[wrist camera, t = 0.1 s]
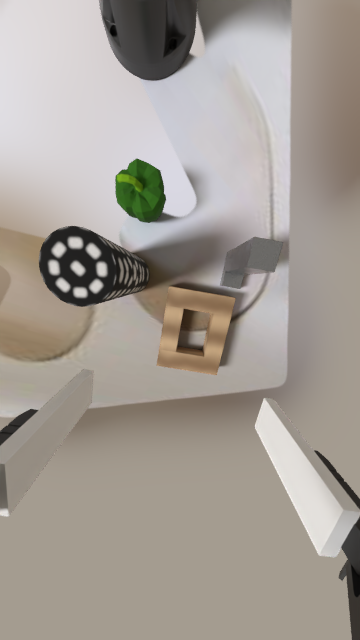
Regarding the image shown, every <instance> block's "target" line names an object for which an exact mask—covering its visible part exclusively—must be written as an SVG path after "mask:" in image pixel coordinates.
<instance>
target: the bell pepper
mask: <svg viewBox="0 0 360 640" xmlns="http://www.w3.org/2000/svg"><path fill="white" fill-rule="evenodd" d="M116 198H117V202H118V204H119V205H120V206H121V207H122V208H123V209H124V210H125V211H126V212H127V213H128V214H129V215H130V216H132V217H134V218H138V219H139V221H142V222H147V223H150V222H153V221H155V220H157V219H158V217H159V216H160V215H161V213H162V211H163V208H164V204H165V201H166V197H165V194H164V185H163V180H162V176H161V172H160V170H158V169H157V168H155V167H154V166H152V165H150V164H149V163H146V162H144V161H141V160H139V159H136V160H134V161H133V162H131V163H130V164H129V166H128V169H127V170H122V171H120V172H119V174H117V175H116Z"/></svg>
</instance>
